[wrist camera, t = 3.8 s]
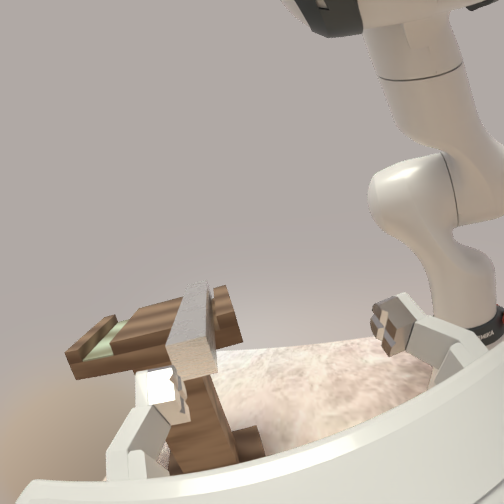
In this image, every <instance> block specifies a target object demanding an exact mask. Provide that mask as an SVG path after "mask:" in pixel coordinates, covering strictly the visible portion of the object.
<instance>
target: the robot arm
mask: <svg viewBox="0 0 504 504" xmlns="http://www.w3.org/2000/svg"><path fill="white" fill-rule="evenodd" d="M496 1H498V0H281V2H282V3H283V4H284V6H285V7H286V8H287V9H288V10H289V12H291V13H292V14H293V15H294V16H295V17H296V18H297V19H298V20H300V21H301V22H302V23H304V24H306V25H307V26H309V27H310V28H311V30H312V31H313V32H315V33H317V34H320V35H322V36H324V37H327V38H333V37H334V38H335V37H344V36H351V35H356V34H362V36H363V39H364V42H365V45H366V47H367V50H368V53H369V56H370V59H371V61H372V64H373V67H374V69H375V72H376V74H377V77H378V79H379V81H380V84H381V86H382V89H383V92H384V95H385V97H386V100H387V103H388V106H389V108H390V111H391V114H392V117H393V120H394V122H395V124H396V126H397V127H398V128H399V130H400V131H401V132H402V133H403V134H405V135H406V136H407V137H409V138H410V139H412V140H413V141H415V142H417V143H419V144H421V145H424V146H427V147H431V148H435V149H439V150H441V151H443V152H440V153H437V154H433V155H428V156H423V157H419V158H414V159H410V160H406V161H402V162H399V163H396V164H394V165H392V166H390V167H387V168H385V169H384V170H382V171H379V172H378V173H375V174H374V176H373V177H372V179H371V182H370V184H369V188H368V195H367V200H368V207H369V210H370V213H371V216H372V218H373V219H374V221H375V222H376V224H377V225H378V226H379V227H380V228H381V229H382V230H383V231H384V232H386V233H387V234H389V235H391V236H393V237H395V238H396V239H398V240H400V241H401V242H403V243H404V244H405V245H407V246H408V247H409V248H410V249H411V250H412V251H413V252H414V254H415V255H416V256H417V257H418V259H419V260H420V261H421V263H422V265H423V267H424V269H425V272H426V274H427V277H428V281H429V285H430V291H431V297H432V304H433V313H434V315H433V316H430V315H429V316H426V314H425V313H424V312H423V311H422V310H421V309H420V307H419V306H418V305H417V304H416V303H415V302H414V301H413V299H412V298H411V297H410V296H409V295H408V294H407V293H405V292H403V293H401V294H398V295H396V296H392V297H390V298H388V299H385V300H383V301H380V302H378V303H375V304H374V305H373V308H372V311H373V313H374V315H373V316H372V317H371V321H370V325H371V330H372V332H373V334H374V336H375V337H376V339H378V340H381V341H382V345H381V346H382V348H383V349H384V351H385V352H386V354H387V355H388V357H391V356H393V355H396V354H398V353H400V352H403V351H405V350H406V352H408V353H410V354H411V355H413V356H415V357H417V358H418V359H420V360H422V361H424V362H425V363H427V364H429V365H431V366H433V370H432V375H431V379H430V382H429V385H428V389H427V391H425V392H423V393H422V394H420V395H418V396H416V397H414V398H412V399H411V400H409V401H407V402H405V403H403V404H401V405H399V406H397V407H395V408H393V409H391V410H389V411H387V412H385V413H382V414H380V415H378V416H376V417H374V418H372V419H369V420H367V421H365V422H363V423H360V424H358V425H356V426H353V427H351V428H348V429H346V430H343V431H341V432H338V433H336V434H333V435H331V436H328V437H325V438H322V439H320V440H317V441H314V442H311V443H308V444H305V445H302V446H299V447H296V448H293V449H290V450H287V451H284V452H280V453H277V454H273V455H270V456H266V457H263V458H259V459H255V460H251V461H247V462H243V463H239V464H235V465H230V466H226V467H221V468H216V469H211V470H206V471H200V472H194V473H188V474H182V475H175V476H170V475H169V471H168V470H167V469H165V468H164V467H163V466H161V465H160V464H159V463H157V459H158V457H159V455H160V452H161V450H162V447H163V445H164V443H165V440H166V438H167V435H168V433H169V431H170V428H171V426H172V425H176V424H181V423H186V422H190V421H191V419H190V413H189V407H188V405H187V404H186V402H185V401H186V399H187V393H186V388H185V385H184V382H183V380H182V378H181V376H179V375H177V369H176V368H175V366H174V365H170V366H165V367H160V368H154V369H149V370H144V371H138V372H136V375H135V404H136V408H132V410H131V411H130V413H129V415H128V416H127V418H126V419H125V421H124V423H123V424H122V426H121V428H120V429H119V431H118V433H117V434H116V436H115V438H114V439H113V441H112V443H111V444H110V446H109V448H108V449H107V451H106V476H107V481H94V482H84V481H52V480H41V479H38V480H33V481H31V482H30V483H29V484H28V485H27V487H26V488H25V489H24V491H23V492H22V493H21V495H20V497H19V498H18V499H17V501H16V503H15V504H504V308H502V307H500V306H499V305H498V304H496V279H495V268H494V265H493V263H492V261H491V259H490V258H489V257H488V256H487V255H486V254H485V253H483V252H481V251H479V250H477V249H474V248H472V247H469V246H465V245H462V244H460V243H458V242H457V241H456V240H455V239H454V238H453V234H452V231H453V229H454V228H456V227H458V226H463V225H468V224H473V223H478V222H483V221H488V220H493V219H496V218H499V217H501V216H503V215H504V145H502V144H501V143H499V142H498V141H496V140H495V139H494V138H493V137H492V136H491V135H490V134H489V133H488V131H487V130H486V129H485V127H484V126H483V124H482V122H481V120H480V118H479V116H478V113H477V110H476V107H475V103H474V99H473V96H472V92H471V89H470V85H469V81H468V77H467V73H466V70H465V66H464V62H463V59H462V55H461V52H460V49H459V46H458V43H457V40H456V38H455V35H454V33H453V30H452V28H451V25H450V22H449V14H450V12H451V11H452V10H455V9H459V8H463V7H466V8H467V9H468V10H470V11H473V10H476V9H478V8H480V7H483V6H486V5H489V4H491V3H493V2H496Z"/></svg>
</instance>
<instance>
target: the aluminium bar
mask: <svg viewBox="0 0 504 504" xmlns="http://www.w3.org/2000/svg"><path fill="white" fill-rule="evenodd" d="M165 347H166V350H167V352H168V355H169V358H170V361H171V363H172V365H174V366H175V368H176V369H177V375H179V376H181V378H182V380H183V381H186V380H190V379H194V378H198V377H202V376H206V375H210V374H214V373H218V368H217V356H216V343H215V330H214V316H213V300H212V296H211V292H210V289H209V286H208V282H207V280H205V281H201V282H198V283H194V284H190V285H188V286H187V288H186V291H185V294H184V296H183V299H182V301H181V304H180V307H179V309H178V312H177V315H176V317H175V320H174V323H173V326H172V328H171V331H170V334H169V337H168V339H167V342H166V345H165Z"/></svg>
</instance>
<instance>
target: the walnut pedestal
mask: <svg viewBox="0 0 504 504" xmlns="http://www.w3.org/2000/svg"><path fill="white" fill-rule="evenodd" d="M182 299H183V297H180V298H176V299H172V300H169V301H165V302H161V303H157V304H154V305H150V306H146V307H142V308H139V309H138V310H137V311H136V312H135V314H134V315H133V316H132V317H131V318H130V319H129V320H125V321H121V322H118V321H117V318H116V316H115V315H111V316H108V317H104V318H103V319H102V320H101V321H100V322H99V323H97V324H96V325H95V326H94V327H93V328H92V329H91V330H89V331H88V332H87V333H86V334H85V335H84V336H83V337H81V338H80V339H79V340H78V341H77V342H76V343H75V344H74V345H72V346H71V347H70V348H69V349H68V350H67V351H66V352H65V355H66V357H67V360H68V363H69V365H70V367H71V370H72V372H73V374H74V376H75V379H76V380H80V379H85V378H91V377H97V376H101V375H107V374H113V373H117V372H123V371H128V370H133V372H134V374H135V375H136V372H138V371H144V370H149V369H154V368H160V367H165V366H170V365H172V363H171V361H170V358H169V355H168V352H167V350H166V347H165V345H166V342H167V339H168V337H169V334H170V331H171V328H172V326H173V323H174V320H175V317H176V315H177V312H178V309H179V307H180V304H181V301H182ZM212 300H213V316H214V330H215V343H216V349H220V348H224V347H228V346H231V345H235V344H238V343H242V342H243V340H242V336H241V333H240V329H239V326H238V323H237V319H236V316H235V312H234V309H233V306H232V303H231V300H230V297H229V294H228V291H227V288H226V285H224V286H220V287H217V288H214V298H213V299H212ZM183 382H184V385H185V388H186V393H187V399H186V401H185V402H186V404H187V405H188V407H189V413H190V419H191V421H190V422H186V423H181V424H176V425H172V426H171V428H170V431H169V433H168V435H167V438H166V442H167V444H168V446H169V448H170V458H169V465H168V471H169V475H170V476H175V475H182V474H188V473H194V472H200V471H206V470H211V469H216V468H221V467H226V466H230V465H235V464H239V463H243V462H247V461H251V460H255V459H259V458H263V457H266V456H265V453H264V449H263V446H262V442H261V439H260V435H259V432H258V429H257V426H252V427H248V428H245V429H241V430H237V431H233V432H232V431H231V429H230V426H229V424H228V421H227V419H226V416H225V414H224V411H223V409H222V406H221V403H220V401H219V398H218V395H217V393H216V390H215V387H214V384H213V382H212V379H211V376H210V375H206V376H202V377H198V378H194V379H190V380H186V381H183Z"/></svg>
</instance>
